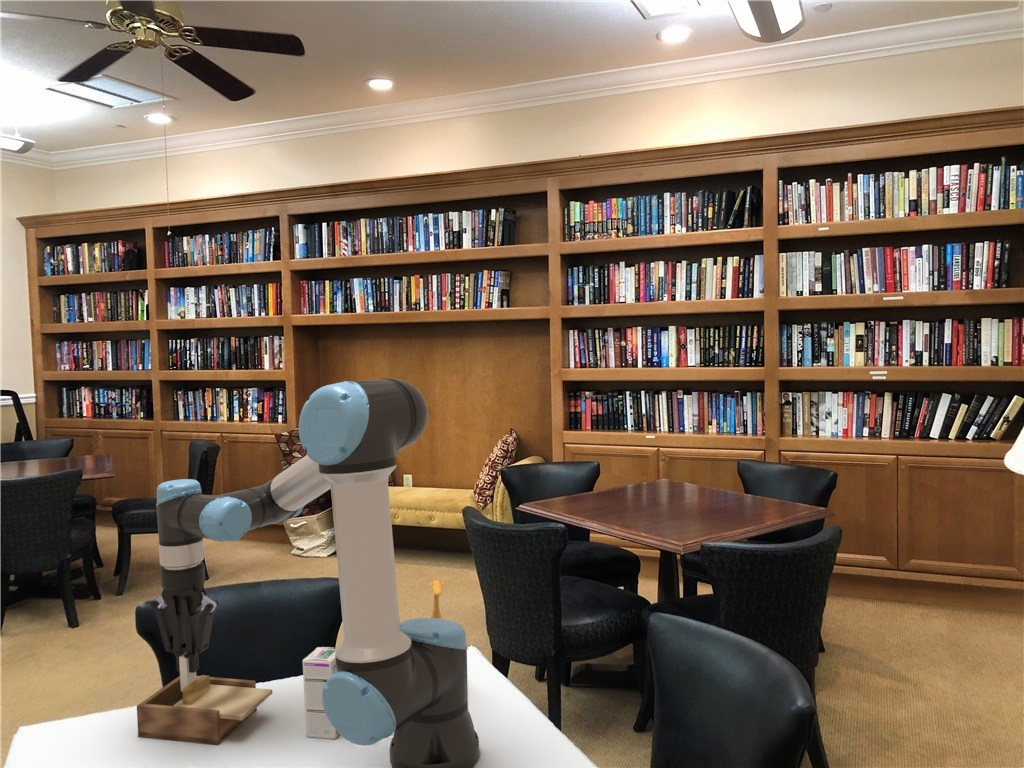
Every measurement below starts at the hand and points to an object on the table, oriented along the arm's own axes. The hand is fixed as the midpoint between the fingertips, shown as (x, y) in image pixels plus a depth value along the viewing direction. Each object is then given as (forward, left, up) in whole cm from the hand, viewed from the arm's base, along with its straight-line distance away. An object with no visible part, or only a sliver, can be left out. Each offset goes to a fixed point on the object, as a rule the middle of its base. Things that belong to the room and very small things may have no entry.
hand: (188, 688), depth 145 cm
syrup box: (-24, -13, -7) cm, 28 cm away
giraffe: (-30, -36, -7) cm, 47 cm away
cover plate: (-6, -3, -2) cm, 7 cm away
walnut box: (-2, -1, -7) cm, 7 cm away
